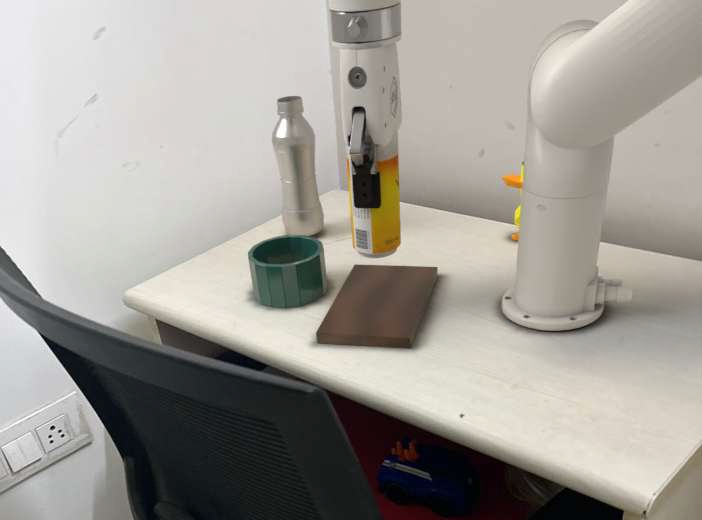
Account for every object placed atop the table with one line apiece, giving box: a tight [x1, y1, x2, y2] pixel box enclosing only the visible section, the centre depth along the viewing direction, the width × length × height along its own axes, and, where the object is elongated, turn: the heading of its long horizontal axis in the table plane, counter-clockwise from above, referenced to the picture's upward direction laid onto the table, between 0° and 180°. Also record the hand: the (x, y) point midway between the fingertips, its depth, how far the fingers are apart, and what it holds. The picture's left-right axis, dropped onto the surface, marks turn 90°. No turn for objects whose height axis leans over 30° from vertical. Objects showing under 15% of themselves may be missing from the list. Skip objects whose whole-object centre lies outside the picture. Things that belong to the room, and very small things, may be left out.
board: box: [315, 264, 439, 349], centre depth 103 cm, size 12×20×2 cm, turn 164°
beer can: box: [344, 129, 402, 259], centre depth 93 cm, size 6×6×15 cm
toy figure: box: [501, 160, 524, 241], centre depth 112 cm, size 7×4×12 cm, turn 46°
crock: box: [247, 234, 329, 309], centre depth 108 cm, size 10×10×6 cm
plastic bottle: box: [271, 95, 325, 237], centre depth 118 cm, size 6×7×20 cm
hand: (374, 195), depth 93 cm, fingers closed on beer can, 6 cm apart
